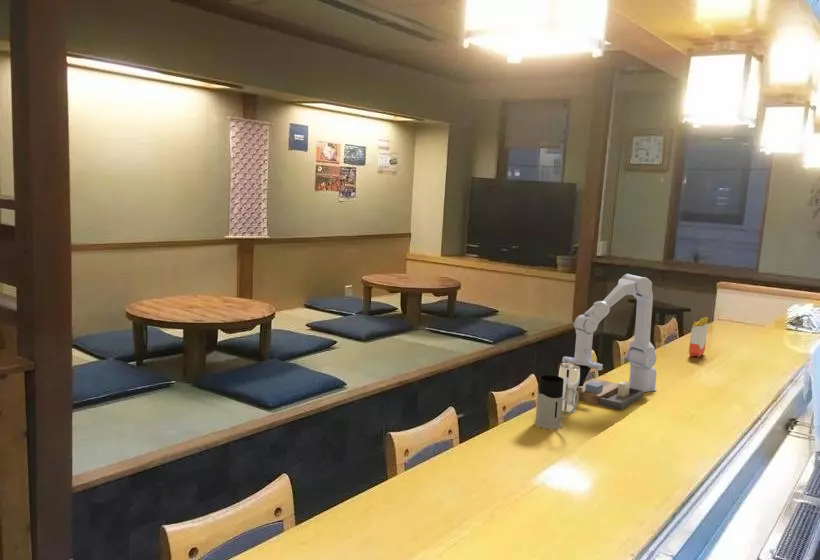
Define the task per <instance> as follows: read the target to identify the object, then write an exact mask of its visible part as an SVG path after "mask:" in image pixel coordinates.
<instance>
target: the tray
mask: <svg viewBox="0 0 820 560" xmlns="http://www.w3.org/2000/svg"><path fill="white" fill-rule="evenodd" d="M617 394H618V393H616V394H614V395H612V396H611V397H609V398H607V399H605V398H600V405H599V406H601V407H606V408H611V409H615V410H619V411H622V410H624V409H626V408H627V407H629V406H631V405H632V404H634V403H636V402H637V401H639V400H641V399H643V395H644V392H643V391H642V390H638V389H633V388H629V395H627V396H625V397H622V396H618V395H617Z"/></svg>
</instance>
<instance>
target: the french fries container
mask: <svg viewBox="0 0 820 560" xmlns="http://www.w3.org/2000/svg"><path fill="white" fill-rule="evenodd" d="M708 320H709V317H705V316H704V317H701V318H700V319H699V321H696V320H694V321H693V325H692V326H691V332H690V339H689V347H688V348H689V349H688V354H689V356H690V357H693V356H697V357H696V358H699V357H700V356H701V355H702V354H703V355H704V353H705V350H706V344H707V342H706V341H707V333H708V326H709V325H708V324H709V323H708ZM701 357H702V356H701ZM701 357H700V358H701Z"/></svg>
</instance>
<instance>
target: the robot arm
mask: <svg viewBox="0 0 820 560" xmlns="http://www.w3.org/2000/svg"><path fill="white" fill-rule="evenodd" d="M652 289H653V282H652V280H650V279H649V278H648V277H645V276H643V277H642V276H639V275H634V274H630V273H626V274H624V275H622V276H621V278H619V279H618V283H617V285H616V286H615V287H614V288H613V289H612V290H611V291H610V292H609V294H608V295H607V296H606V297H605V298H604V299H603V300H598V301H594V302H593V305H592V306H591V307H590V308H588V310H587V311H585V312H584V313H583V314H580V315H578V316H576V318H575V320H574V322H573V327H574V329H575V334H576V335H575V336H576V337H575V345H574V346H575V347H574V348H575V349H574V357H572V356H565V355H564V356H563V357H562V360H561V361H562V363H563V364H572V365H576V366H579V367H580V382H579V386H583V385H584V382H586V379H587V376H588V374H589V373H590V371H591V370H597V371H603V365H604V364H602V363H599V362H596V361H592V350H593V338H594V332H596V331H597V330H598V327H599V324H600V322H601V321H602V320H603V319H605V317H607V316H608V314H609V313H610V312H611V311H610V310H611V307H613V305H615V304H616V303H618V302H619V301H620V300H621V299H623V298H624V297H625V296H630V295H631V296H633V297H634V298H635V299H636V307H635V308H636V310H635V312H636V313H635V323H634V324H635V325H634V339H633V341H631V342H630V343H629V345H628V346H629V347H628V349H627V352H626V358H627V360H628V362H629V363H628V364H629V365H630V367H629V368H630V369H629V378H628V382H630V388H633V389H638V390H642V391H643V393H648V392H654V391H657V390H658V389H656V385H657V384H656V383H657V370H656V368H655V367H654V366H655V365H656V362H657V355H656V348H655V346H654V345H653V343H651V331H652V330H651V329H652V315H653V303H654V301H653V300H654V295H653V293H654V292H653V290H652Z"/></svg>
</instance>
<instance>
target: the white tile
mask: <svg viewBox="0 0 820 560" xmlns="http://www.w3.org/2000/svg"><path fill="white" fill-rule="evenodd" d="M617 384H618V394H617V395H618V396H622V397H625V396H627V395H629V388H630V382H629V381H626V380H622V381H620V382H618V383H617Z"/></svg>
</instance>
